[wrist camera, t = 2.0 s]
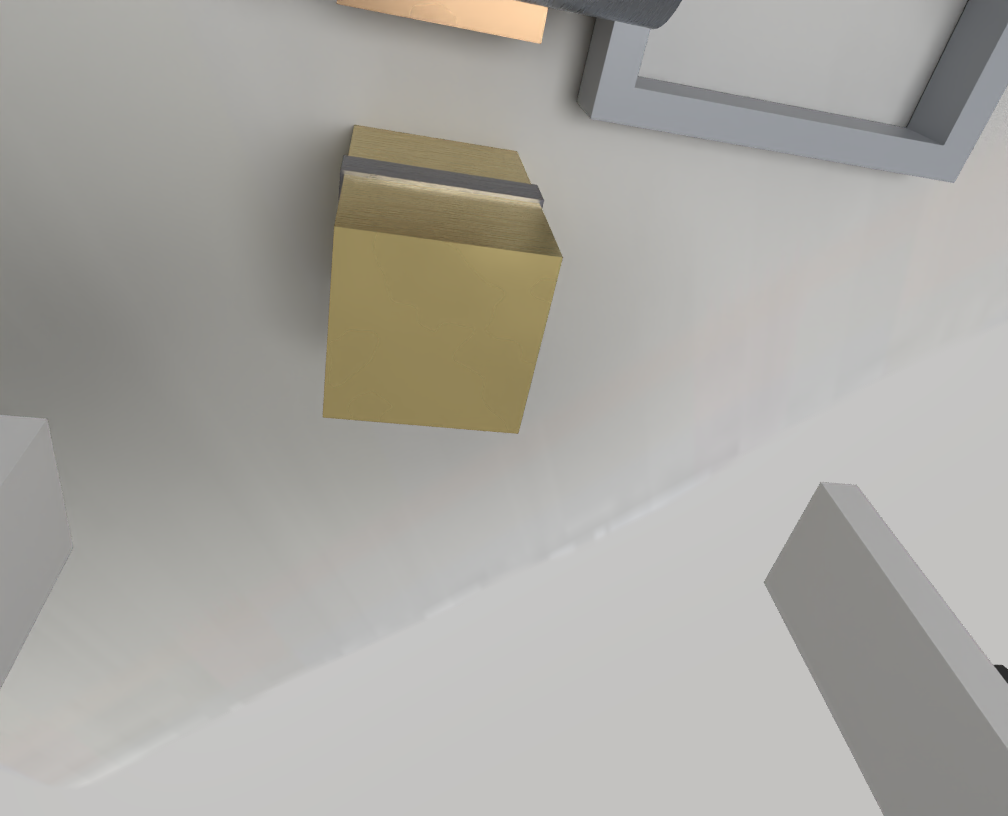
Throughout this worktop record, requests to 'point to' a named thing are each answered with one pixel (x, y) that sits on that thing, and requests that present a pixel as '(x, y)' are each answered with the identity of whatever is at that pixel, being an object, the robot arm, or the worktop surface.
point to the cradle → (804, 132)
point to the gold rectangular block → (436, 284)
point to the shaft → (519, 13)
